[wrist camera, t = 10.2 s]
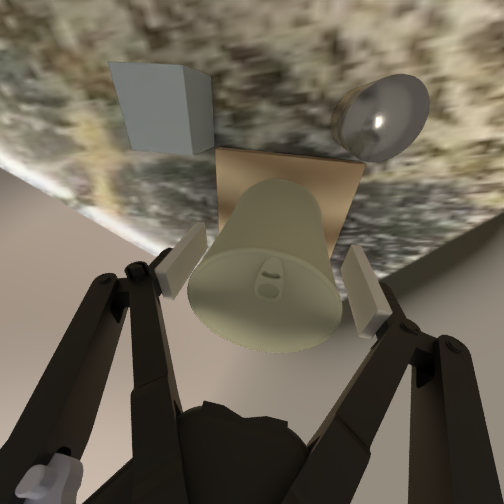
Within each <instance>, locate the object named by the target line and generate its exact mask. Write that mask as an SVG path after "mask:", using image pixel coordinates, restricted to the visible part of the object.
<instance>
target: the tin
mask: <svg viewBox="0 0 504 504" xmlns="http://www.w3.org/2000/svg"><path fill="white" fill-rule="evenodd" d="M429 104H430V102H429V95H428V91H427V89H426V87H425V85H424V84H423V83H422V82H421V81H420V80H419V79H417V78H416V77H414V76H411V75H406V74H397V75H391V76H388V77H385V78H383V79H380V80H377V81H374V82H371V83H369V84H366V85H363V86H360V87H358V88H355V89H353V90H351V91H350V92H348V93H347V94H346V95H345V96H344V97H343V98H342V99H341V100H340V101H339V102H338V104H337V105H336V107H335V109H334V112H333V114H332V118H331V132H332V135H333V137H334V139H335V140H336V141H337V142H338V143H339V144H340V145H341V146H343V147H344V148H345V149H346V150H348V151H349V152H350V153H351V154H353V155H354V156H355V157H356V158H358V159H360V160H362V161H366V162H380V161H384V160H387V159H390V158H392V157H394V156H396V155H398V154H399V153H401V152H402V151H404V150H405V149H406V148H407V147H408V146H409V145H410V144H411V143H412V142H413V141H414V140H415V139H416V138H417V136H418V135H419V133H420V132H421V130H422V128H423V127H424V124H425V122H426V120H427V116H428V112H429Z"/></svg>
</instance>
